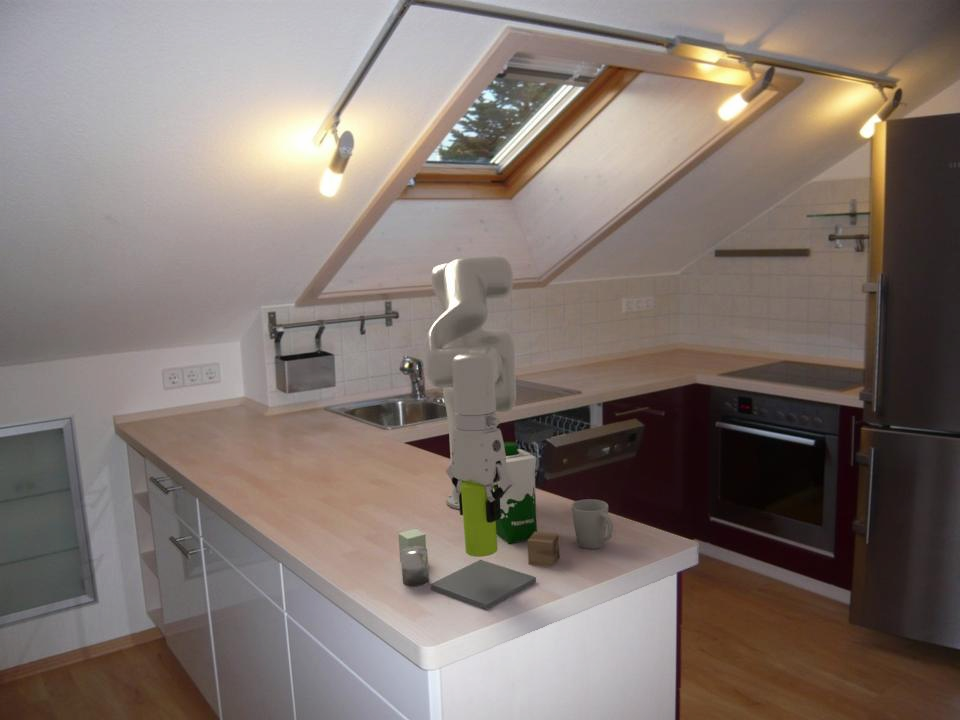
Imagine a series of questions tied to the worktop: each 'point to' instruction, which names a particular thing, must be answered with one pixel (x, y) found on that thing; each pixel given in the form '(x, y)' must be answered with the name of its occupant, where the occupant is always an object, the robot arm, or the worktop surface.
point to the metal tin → (414, 566)
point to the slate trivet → (483, 584)
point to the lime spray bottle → (477, 521)
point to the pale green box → (411, 539)
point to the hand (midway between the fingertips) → (480, 515)
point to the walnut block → (543, 548)
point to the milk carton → (518, 497)
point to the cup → (591, 523)
